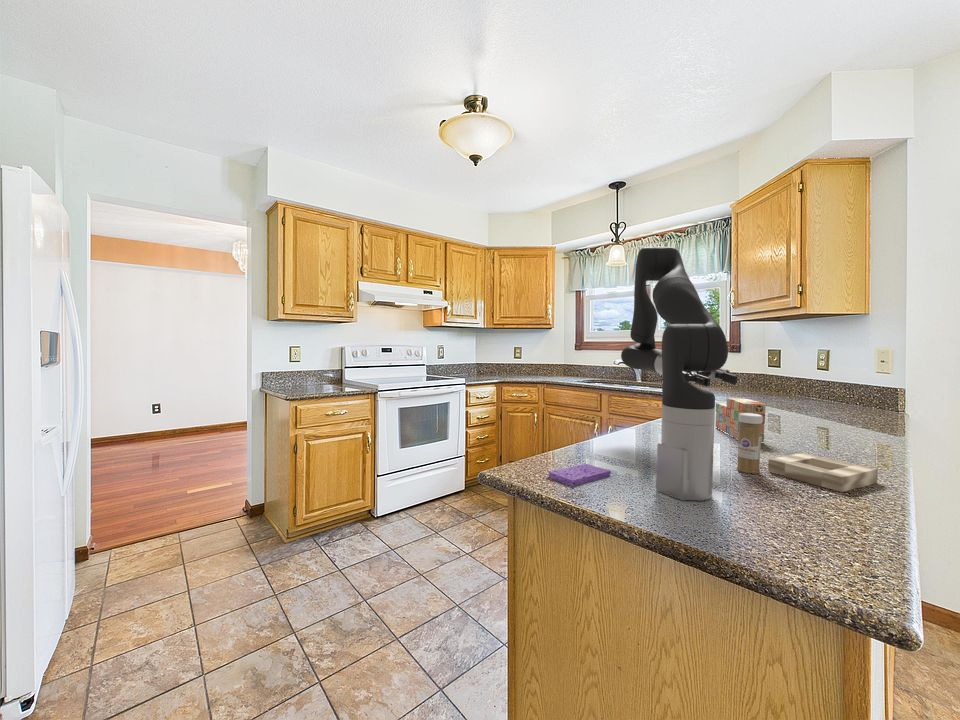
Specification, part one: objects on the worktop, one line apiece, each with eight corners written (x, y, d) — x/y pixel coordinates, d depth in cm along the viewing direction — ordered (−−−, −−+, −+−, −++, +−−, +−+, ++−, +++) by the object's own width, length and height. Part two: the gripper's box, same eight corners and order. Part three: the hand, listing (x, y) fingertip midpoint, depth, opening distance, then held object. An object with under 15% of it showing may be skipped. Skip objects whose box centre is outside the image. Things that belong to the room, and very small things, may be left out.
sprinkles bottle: (735, 471, 94) (737, 414, 93) (738, 467, 97) (740, 411, 97) (759, 475, 91) (761, 416, 90) (761, 471, 94) (763, 413, 94)
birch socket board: (841, 491, 81) (842, 477, 81) (768, 471, 94) (768, 458, 94) (877, 482, 87) (877, 469, 87) (803, 465, 100) (803, 453, 100)
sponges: (548, 479, 88) (548, 471, 88) (586, 469, 96) (586, 462, 96) (572, 489, 83) (572, 479, 83) (611, 478, 90) (611, 469, 90)
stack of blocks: (714, 428, 144) (716, 394, 143) (734, 429, 143) (735, 395, 142) (741, 442, 123) (743, 402, 122) (764, 444, 122) (766, 403, 121)
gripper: (656, 354, 113) (701, 368, 98) (697, 352, 117) (747, 365, 102) (652, 380, 115) (697, 398, 99) (693, 377, 119) (742, 393, 103)
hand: (722, 381), depth 101 cm, fingers open, 8 cm apart
